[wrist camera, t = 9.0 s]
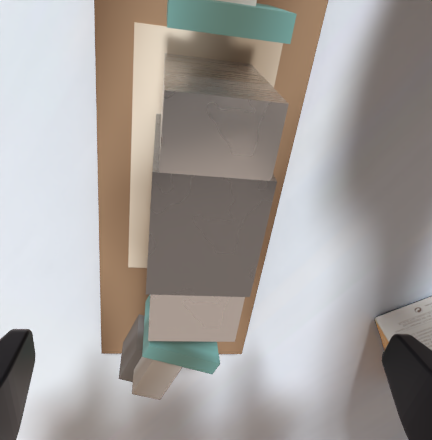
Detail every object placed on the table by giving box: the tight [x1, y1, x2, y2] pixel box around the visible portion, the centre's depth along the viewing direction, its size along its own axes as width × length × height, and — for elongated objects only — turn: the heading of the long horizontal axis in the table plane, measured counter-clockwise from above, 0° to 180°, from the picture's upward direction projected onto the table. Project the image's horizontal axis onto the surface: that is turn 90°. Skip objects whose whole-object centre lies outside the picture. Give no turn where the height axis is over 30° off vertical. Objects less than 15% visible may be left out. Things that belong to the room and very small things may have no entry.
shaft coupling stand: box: [94, 0, 328, 400], centre depth 17 cm, size 9×26×6 cm, turn 173°
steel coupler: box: [146, 53, 289, 342], centre depth 16 cm, size 10×4×6 cm, turn 173°
